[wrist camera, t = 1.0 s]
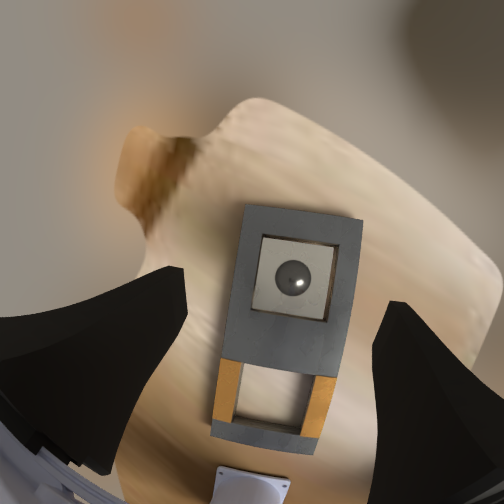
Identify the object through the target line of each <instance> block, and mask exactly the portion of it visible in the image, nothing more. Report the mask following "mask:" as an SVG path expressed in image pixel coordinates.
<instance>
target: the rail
mask: <svg viewBox="0 0 504 504" xmlns="http://www.w3.org/2000/svg"><path fill="white" fill-rule="evenodd" d="M362 230H363V220H359V219H353V218H347V217H340V216H333V215H327V214H320V213H313V212H306V211H298V210H290V209H283V208H274V207H266V206H257V205H249V204H245V210H244V216H243V222H242V228H241V234H240V240H239V246H238V253H237V259H236V265H235V271H234V277H233V284H232V290H231V296H230V303H229V309H228V316H227V322H226V329H225V335H224V342H223V349H222V355H221V360H220V367H219V374H218V381H217V388H216V395H215V402H214V409H213V416H212V418H213V419H212V426H211V433H210V436H213V437H217V438H221V439H224V440H228V441H232V442H236V443H241V444H245V445H250V446H254V447H259V448H265V449H270V450H276V451H282V452H289V453H297V454H305V455H313V454H314V451H315V448H316V445H317V442H318V439H319V437H320V434H321V431H322V428H323V425H324V422H325V419H326V415H327V412H328V409H329V405H330V402H331V399H332V395H333V391H334V388H335V384H336V380H337V375H338V371H339V367H340V363H341V359H342V355H343V350H344V346H345V341H346V336H347V331H348V326H349V321H350V316H351V310H352V305H353V299H354V293H355V286H356V280H357V273H358V265H359V258H360V249H361V240H362ZM265 236H267V237H274V238H281V239H289V240H296V241H303V242H310V243H317V244H323V245H330V246H337V252H336V260H335V267H334V274H333V281H332V287H331V293H330V299H329V305H328V311H327V316H326V320H321V319H314V318H307V317H301V316H294V315H288V314H282V313H276V312H270V311H264V310H258V309H253V308H252V305H253V298H254V292H255V286H256V280H257V274H258V267H259V261H260V255H261V248H262V242H263V237H265ZM244 363H247V364H252V365H257V366H262V367H267V368H273V369H278V370H284V371H290V372H297V373H303V374H310V375H314V378H313V382H312V386H311V390H310V394H309V398H308V402H307V405H306V409H305V413H304V416H303V420H302V423H301V427H300V428H299V427H292V426H285V425H279V424H273V423H268V422H262V421H257V420H252V419H248V418H243V417H239V416H235V413H236V407H237V401H238V396H239V390H240V384H241V378H242V372H243V366H244Z"/></svg>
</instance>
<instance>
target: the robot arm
mask: <svg viewBox="0 0 504 504" xmlns="http://www.w3.org/2000/svg"><path fill="white" fill-rule="evenodd" d="M187 315H188V310H187V301H186V291H185V281H184V269H183V268H178V267H173V266H166V267H163V268H161V269H158V270H156V271H153V272H151V273H149V274H146V275H144V276H142V277H140V278H138V279H135V280H133V281H131V282H129V283H127V284H124V285H122V286H120V287H117V288H115V289H113V290H110V291H108V292H105V293H103V294H101V295H98V296H96V297H93V298H91V299H88V300H85V301H82V302H79V303H76V304H73V305H70V306H66V307H63V308H59V309H54V310H50V311H46V312H42V313H36V314H31V315H23V316H15V317H0V504H84V503H82V502H80V501H78V500H76V499H75V498H74V493H75V494H77V495H78V496H80V497H81V498H83V499H84V500H86V501H87V502H89V503H90V504H129V503H127V502H125V501H123V500H121V499H119V498H117V497H115V496H113V495H112V494H110V493H108V492H106V491H105V490H103V489H101V488H100V487H98V486H97V485H95V484H93V483H92V482H90V481H89V480H87V479H85V478H84V477H83V476H81V475H80V474H78V473H77V472H75V471H74V470H73V469H71V468H70V467H68V466H67V465H68V464H69V462H70V461H71V462H73V463H74V464H76V465H77V466H78V467H80V466H81V465H82V464H84V465H85V466H87V467H88V468H90V469H91V470H93V471H94V472H96V473H98V474H99V475H101V476H104V475H109V474H111V470H112V465H113V462H114V459H115V456H116V452H117V449H118V446H119V443H120V441H121V438H122V435H123V433H124V430H125V427H126V425H127V423H128V420H129V418H130V416H131V413H132V411H133V409H134V407H135V405H136V402H137V400H138V398H139V396H140V394H141V392H142V390H143V388H144V386H145V385H146V383H147V381H148V380H149V378H150V377H151V375H152V374H153V372H154V371H155V369H156V368H157V366H158V365H159V363H160V362H161V360H162V359H163V357H164V356H165V354H166V353H167V351H168V350H169V348H170V346H171V345H172V343H173V342H174V340H175V339H176V337H177V336H178V334H179V332H180V330H181V328H182V326H183V323H184V321H185V319H186V317H187ZM372 372H373V381H374V391H375V400H376V411H377V427H378V436H377V449H376V459H375V466H374V473H373V480H372V485H371V489H370V494H369V498H368V502H367V504H504V399H503V398H501V397H500V396H499V395H497V394H496V393H495V392H494V391H492V390H491V389H490V388H489V387H487V386H486V385H485V384H483V382H481V381H480V380H479V379H478V378H477V377H476V376H475V375H474V374H473V373H472V372H471V371H470V370H469V369H467V368H466V367H465V366H464V365H463V364H462V363H461V362H460V360H459V359H458V358H457V357H456V356H455V355H454V354H453V353H452V352H451V351H450V350H449V349H448V348H447V347H446V346H445V345H444V343H443V342H442V341H441V340H440V339H439V338H438V337H437V336H436V334H435V333H434V332H433V331H432V330H431V329H430V328H429V327H428V325H427V324H426V323H425V322H424V321H423V320H422V319H421V318H420V316H419V315H418V314H417V313H416V312H415V311H414V310H413V309H412V308H411V307H410V306H409V305H408V304H407V303H406V302H398V301H389V304H388V307H387V310H386V312H385V315H384V317H383V320H382V323H381V325H380V328H379V330H378V332H377V335H376V337H375V340H374V342H373V344H372ZM221 472H222V473H221ZM289 486H290V480H289V479H285V478H278V477H271V476H266V475H260V474H255V473H250V472H245V471H241V470H236V469H232V468H228V467H224V466H219V467H218V468H217V473H216V479H215V486H214V492H213V498H212V500H211V502H210V504H282V503H283V501H284V498H285V496H286V493H287V491H288V488H289ZM73 492H74V493H73Z"/></svg>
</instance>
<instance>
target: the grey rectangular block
mask: <svg viewBox="0 0 504 504" xmlns="http://www.w3.org/2000/svg"><path fill="white" fill-rule="evenodd" d="M333 250H334V247H327V246H320V245H313V244H306V243H299V242H292V241H285V240H278V239H271V238H264V237H263V242H262V248H261V255H260V261H259V267H258V274H257V280H256V286H255V292H254V298H253V305H252V308H256V309H261V310H267V311H273V312H279V313H285V314H291V315H298V316H304V317H311V318H318V319H323V315H324V309H325V303H326V298H327V292H328V285H329V279H330V272H331V265H332V258H333Z"/></svg>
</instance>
